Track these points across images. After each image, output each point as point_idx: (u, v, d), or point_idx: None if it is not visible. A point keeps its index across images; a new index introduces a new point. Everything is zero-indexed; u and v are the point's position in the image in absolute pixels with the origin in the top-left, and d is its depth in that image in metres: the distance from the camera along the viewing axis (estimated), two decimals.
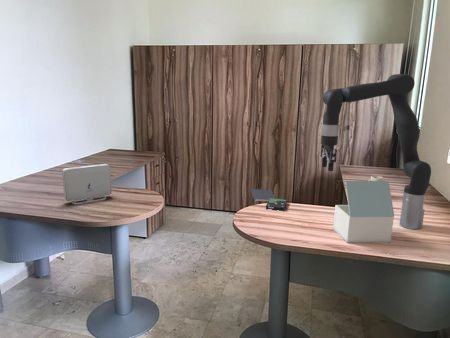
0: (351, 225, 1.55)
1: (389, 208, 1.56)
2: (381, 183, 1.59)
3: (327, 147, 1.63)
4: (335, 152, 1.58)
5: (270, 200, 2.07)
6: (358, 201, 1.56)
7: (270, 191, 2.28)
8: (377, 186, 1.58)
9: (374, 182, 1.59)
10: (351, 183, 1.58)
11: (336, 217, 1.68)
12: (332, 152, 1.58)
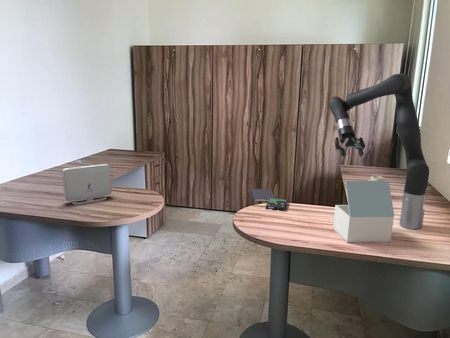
0: (351, 225, 1.55)
1: (389, 208, 1.56)
2: (381, 183, 1.59)
3: None
4: (335, 140, 1.77)
5: (270, 200, 2.07)
6: (358, 201, 1.56)
7: (270, 191, 2.28)
8: (377, 186, 1.58)
9: (374, 182, 1.59)
10: (351, 183, 1.58)
11: (336, 217, 1.68)
12: (334, 141, 1.78)
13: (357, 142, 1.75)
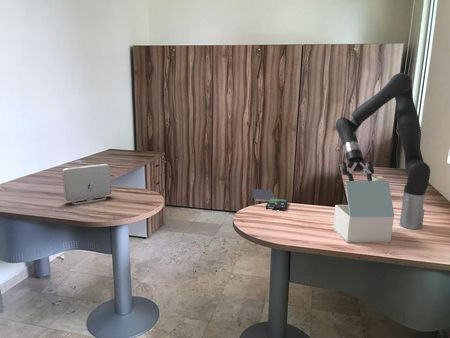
0: (351, 225, 1.55)
1: (389, 208, 1.56)
2: (381, 183, 1.59)
3: None
4: (343, 164, 1.68)
5: (270, 200, 2.07)
6: (358, 201, 1.56)
7: (270, 191, 2.28)
8: (377, 186, 1.58)
9: (374, 182, 1.59)
10: (351, 183, 1.58)
11: (336, 217, 1.68)
12: (342, 166, 1.69)
13: (366, 167, 1.67)
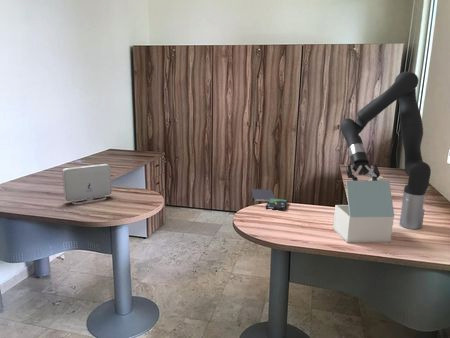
0: (351, 225, 1.55)
1: (389, 208, 1.56)
2: (382, 182, 1.58)
3: None
4: (347, 167, 1.63)
5: (270, 200, 2.07)
6: (358, 201, 1.55)
7: (270, 191, 2.28)
8: (378, 186, 1.58)
9: (374, 181, 1.58)
10: (352, 183, 1.57)
11: (336, 217, 1.68)
12: (346, 169, 1.64)
13: (371, 170, 1.61)
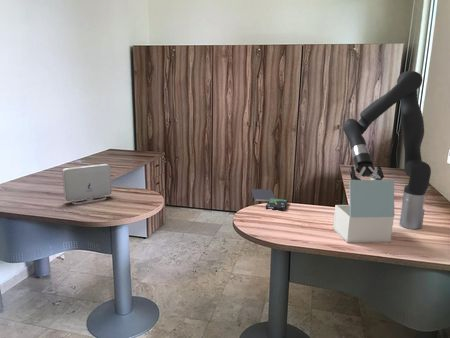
0: (351, 225, 1.55)
1: (390, 209, 1.55)
2: (386, 182, 1.55)
3: None
4: (351, 169, 1.59)
5: (270, 200, 2.07)
6: (360, 201, 1.54)
7: (270, 191, 2.28)
8: (381, 185, 1.55)
9: (379, 181, 1.55)
10: (355, 182, 1.54)
11: (336, 217, 1.68)
12: (350, 170, 1.60)
13: (375, 172, 1.58)
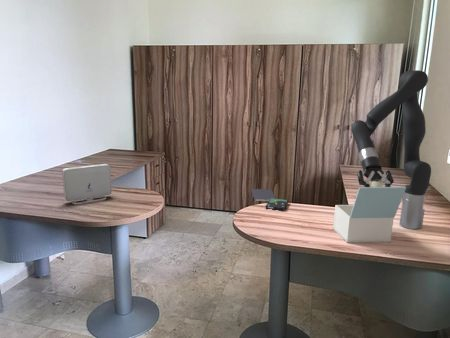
0: (351, 225, 1.55)
1: (392, 211, 1.53)
2: (397, 190, 1.47)
3: None
4: (359, 173, 1.51)
5: (270, 200, 2.07)
6: (364, 205, 1.50)
7: (270, 191, 2.28)
8: (391, 192, 1.47)
9: (390, 189, 1.46)
10: (365, 190, 1.45)
11: (336, 217, 1.68)
12: (357, 175, 1.53)
13: (384, 176, 1.50)
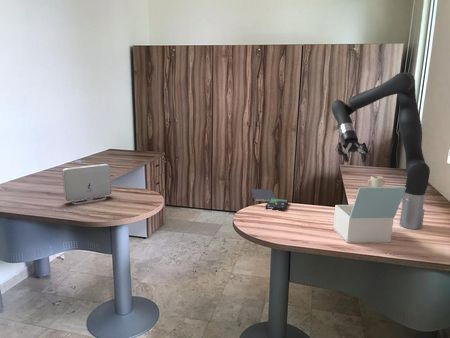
0: (351, 225, 1.55)
1: (392, 211, 1.53)
2: (397, 190, 1.47)
3: None
4: (338, 145, 1.73)
5: (270, 200, 2.07)
6: (364, 205, 1.50)
7: (270, 191, 2.28)
8: (391, 192, 1.47)
9: (390, 189, 1.46)
10: (365, 190, 1.45)
11: (336, 217, 1.68)
12: (337, 146, 1.74)
13: (360, 147, 1.72)
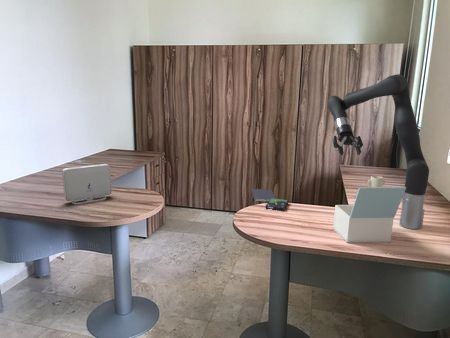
0: (351, 225, 1.55)
1: (392, 211, 1.53)
2: (397, 190, 1.47)
3: None
4: (333, 138, 1.79)
5: (271, 200, 2.07)
6: (364, 205, 1.50)
7: (270, 191, 2.28)
8: (391, 192, 1.47)
9: (390, 189, 1.46)
10: (365, 190, 1.45)
11: (336, 217, 1.68)
12: (333, 140, 1.80)
13: None
